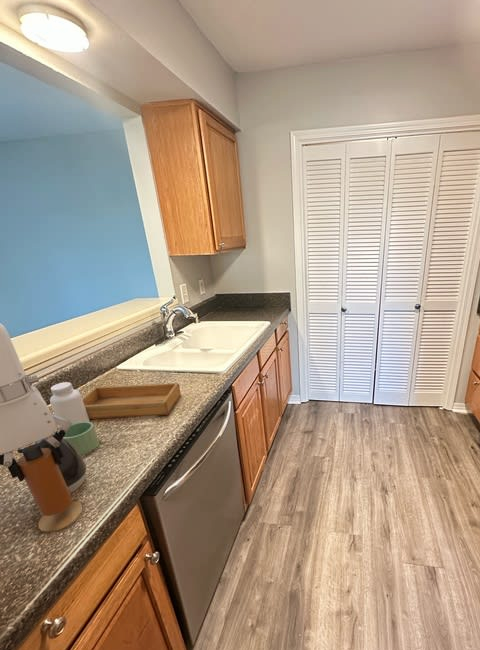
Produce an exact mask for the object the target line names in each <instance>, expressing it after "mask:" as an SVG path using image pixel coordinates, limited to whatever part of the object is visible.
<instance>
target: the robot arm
mask: <svg viewBox="0 0 480 650" xmlns="http://www.w3.org/2000/svg"><path fill="white" fill-rule="evenodd" d="M39 382H40V380H39V378H38V375H36V374H34V375H29V374H27V375H26V371H25V370H24V367H23V365H22V362H21V360H20V358H19V355H18V352H17V351H16V348H15V346H14V344H13V342H12V339H11V336H10V334H9V332H8V330H7V328H6V327H5V325H4V324H2V323H1V322H0V466H3V467H5V468H7V469H8V472H9V473H10V475H11V477H12V479H15V478H17V479H18V481H19V482H20V483H21V482H23V481H25V479H24V477H23V475H22V473H21V471H20V469H19V467H18V465H17V460H16V458H15V457H14V456H13V455H14V451H17V450H18V449H19V448H25V447H28V446H30V445H33V444H35V442H37V441H40V440H42V439H45V440H46V441H47V442H49V444H50V445H49V447H50V449H51V451H52V453H53V455H54V458H55V460H56V462H57V464H59V465H60V464H62V462H61V460H60V458H62V457H64V456H63V454H62V452H61V449H60V447H59V446H60V442H61V441H62V439H63V437H64V436H65V434H66V432H67V431H68V429H69V428H70V426H71V425H72V423H71V421H70V420H67V419H64V418H61V417H58V416H55V414H52V412H51V410H50V407H49V406H48V404H47V402H46V400H45V398H44V397H43V395H42V393H41V392H40V391H39V389H38V388H37V386H33V385H35V383H39ZM57 425H58V426H59V425H61V426H59V428H58V426H57ZM53 434H54V435H53Z"/></svg>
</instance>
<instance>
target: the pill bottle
mask: <svg viewBox="0 0 480 650" xmlns="http://www.w3.org/2000/svg"><path fill="white" fill-rule="evenodd" d="M50 392H51V393H52V395H51V397H50V398H49V403H50V405H51V409H52V411H53V413H54V415H55V416H58V417H61V418H64V419H67V420H70V421H71V423H72V424H75V423H79V422H87V421H88V422H91V421H90V419H89V417H88V414H87V412H86V409H85V406H84V403H83V400H82V397H83V396H82V394H81V392H80V391H79V390H77V389H74V386H73V384H72V383H71V382H69V381H63V382H58V383H57V384H54V385H52V386H51V387H50ZM60 426H61V425H58V427H60Z"/></svg>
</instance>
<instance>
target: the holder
mask: <svg viewBox="0 0 480 650" xmlns="http://www.w3.org/2000/svg"><path fill="white" fill-rule="evenodd" d="M95 427H96V426H95V425H94V423H93V422H92V421H90V422H88V421H87V422H79V423H75V424H72V425H71V426H70V428H69V429H68V431H67V432H66V434H65V436H64V437H63V439H65V440H66V441H67V442H69V443H70V444H71V445H72V446H73V447H74V448H75V449H76V450H77V452H78V453H79V454H80V456H84V455H86V454H89V453H91V452H92V451H93V450H94V451H95V449H97V448H98V446H99V445H100V439H99V435H98V433H97V429H96V428H95Z"/></svg>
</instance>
